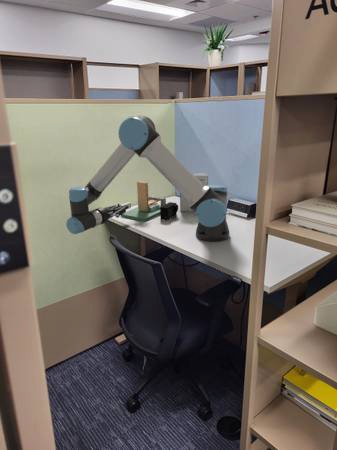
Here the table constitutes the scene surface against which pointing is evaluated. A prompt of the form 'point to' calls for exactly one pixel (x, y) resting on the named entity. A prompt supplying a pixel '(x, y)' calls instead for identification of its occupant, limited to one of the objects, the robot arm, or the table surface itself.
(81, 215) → the robot arm
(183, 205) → the hard drive box
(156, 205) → the heat sink
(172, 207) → the digital camera
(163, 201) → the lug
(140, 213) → the circuit board
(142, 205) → the upright wooden plank
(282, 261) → the table surface
